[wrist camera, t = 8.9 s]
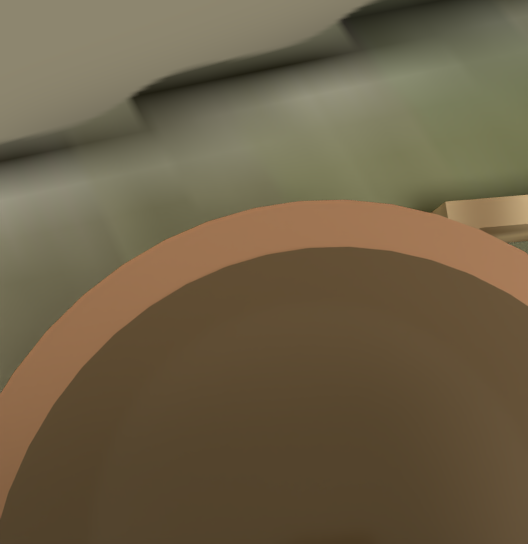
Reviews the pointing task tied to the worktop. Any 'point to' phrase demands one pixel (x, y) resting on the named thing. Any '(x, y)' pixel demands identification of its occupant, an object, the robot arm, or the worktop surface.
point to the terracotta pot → (281, 389)
